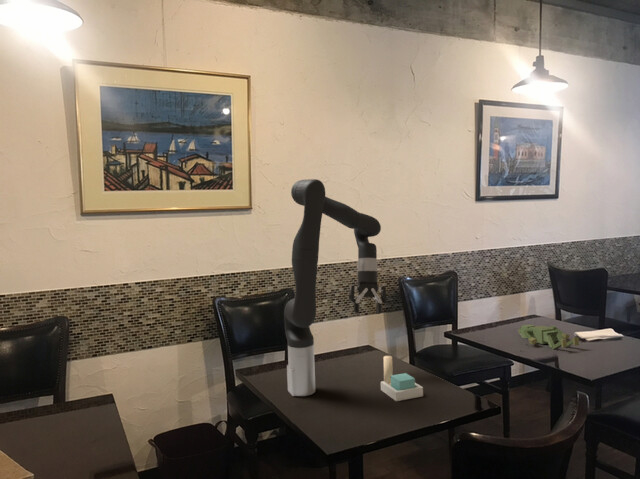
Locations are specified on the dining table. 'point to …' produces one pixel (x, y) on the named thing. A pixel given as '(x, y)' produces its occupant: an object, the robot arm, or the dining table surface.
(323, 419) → the dining table surface
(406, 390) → the cream u-shaped frame
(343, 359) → the dining table surface
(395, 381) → the tethered block
